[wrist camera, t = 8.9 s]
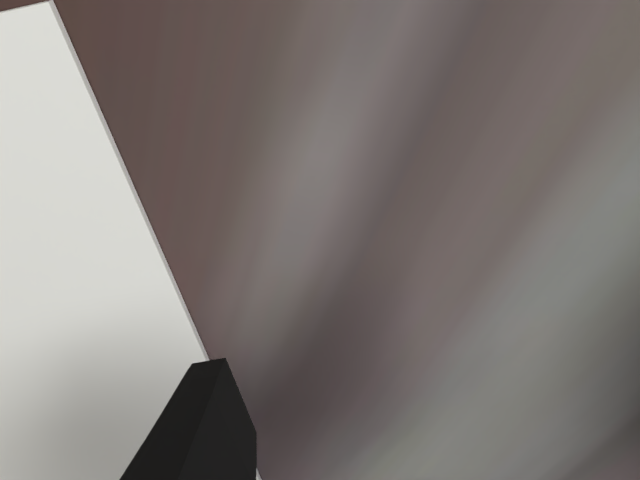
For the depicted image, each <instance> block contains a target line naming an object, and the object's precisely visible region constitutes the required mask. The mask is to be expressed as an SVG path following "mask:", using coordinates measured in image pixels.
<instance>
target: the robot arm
mask: <svg viewBox="0 0 640 480" xmlns="http://www.w3.org/2000/svg"><path fill="white" fill-rule="evenodd" d="M119 480H256V431H255V428H254V426H253V423H252V421H251V419H250V416H249V414H248V411H247V409H246V406H245V404H244V402H243V399H242V397H241V394H240V392H239V389H238V387H237V385H236V382H235V380H234V377H233V375H232V372H231V370H230V368H229V365H228V363H227V360H226V358H222V359H216V360H210V361H204V362H198V363H192V364H191V366H190V367H189V368H188V370H187V372H186V373H185V375H184V376H183V378H182V380H181V381H180V383H179V385H178V386H177V388H176V390H175V391H174V393H173V395H172V396H171V398H170V400H169V401H168V403H167V405H166V406H165V408H164V410H163V411H162V413H161V415H160V416H159V418H158V419H157V421H156V423H155V424H154V426H153V428H152V429H151V431H150V432H149V434H148V436H147V437H146V439H145V440H144V442H143V444H142V445H141V447H140V448H139V450H138V451H137V453H136V454H135V456H134V458H133V459H132V461H131V462H130V464H129V465H128V467H127V468H126V470H125V472H124V473H123V475H122V476H121V478H120V479H119Z"/></svg>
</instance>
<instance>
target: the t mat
mask: <svg viewBox="0 0 640 480" xmlns="http://www.w3.org/2000/svg"><path fill="white" fill-rule="evenodd" d="M204 361H210V360H209V358H208V355H207V353H206V351H205V348H204V346H203V344H202V342H201V339H200V337H199V335H198V332H197V330H196V328H195V325H194V323H193V321H192V319H191V316H190V314H189V312H188V309H187V307H186V305H185V303H184V300H183V298H182V296H181V293H180V291H179V289H178V286H177V284H176V282H175V280H174V277H173V275H172V273H171V270H170V268H169V266H168V263H167V261H166V259H165V257H164V254H163V252H162V250H161V247H160V245H159V243H158V240H157V238H156V236H155V234H154V231H153V229H152V227H151V224H150V222H149V220H148V217H147V215H146V213H145V211H144V208H143V206H142V204H141V201H140V199H139V197H138V195H137V192H136V190H135V188H134V185H133V183H132V181H131V178H130V176H129V174H128V172H127V169H126V167H125V165H124V162H123V160H122V158H121V155H120V153H119V151H118V149H117V146H116V144H115V142H114V139H113V137H112V135H111V132H110V130H109V128H108V126H107V123H106V121H105V119H104V116H103V114H102V112H101V109H100V107H99V105H98V103H97V100H96V98H95V96H94V93H93V91H92V89H91V86H90V84H89V82H88V80H87V77H86V75H85V73H84V70H83V68H82V66H81V64H80V61H79V59H78V57H77V54H76V52H75V50H74V47H73V45H72V43H71V41H70V38H69V36H68V34H67V31H66V29H65V27H64V24H63V22H62V20H61V18H60V15H59V13H58V11H57V8H56V6H55V4H54V1H53V0H49V1H45V2H40V3H36V4H32V5H27V6H23V7H19V8H14V9H10V10H6V11H2V12H0V480H119V479H120V478H121V476H122V475H123V473H124V472H125V470H126V468H127V467H128V465H129V464H130V462H131V461H132V459H133V458H134V456H135V454H136V453H137V451H138V450H139V448H140V447H141V445H142V444H143V442H144V440H145V439H146V437H147V436H148V434H149V432H150V431H151V429H152V428H153V426H154V424H155V423H156V421H157V419H158V418H159V416H160V415H161V413H162V411H163V410H164V408H165V406H166V405H167V403H168V401H169V400H170V398H171V396H172V395H173V393H174V391H175V390H176V388H177V386H178V385H179V383H180V381H181V380H182V378H183V376H184V375H185V373H186V372H187V370H188V368H189V367H190V366H191V364H192V363H198V362H204ZM256 480H262V479H261V477H260V475H259V473H258V470H257V468H256Z"/></svg>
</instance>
